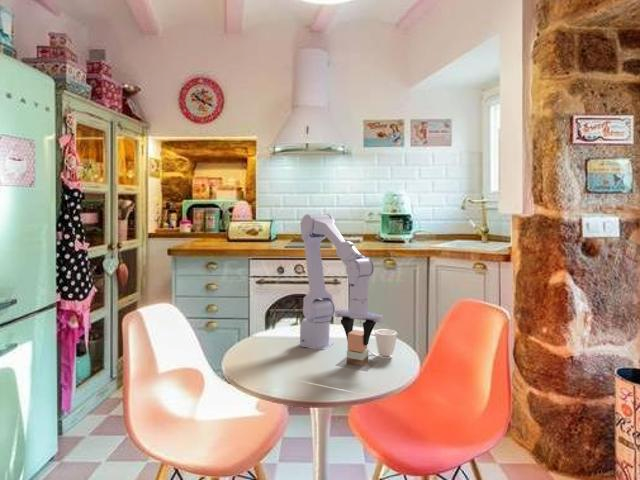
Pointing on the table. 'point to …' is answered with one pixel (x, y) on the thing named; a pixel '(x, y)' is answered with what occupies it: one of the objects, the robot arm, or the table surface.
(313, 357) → the table surface
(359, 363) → the tower base
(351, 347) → the block
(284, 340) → the table surface
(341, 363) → the coaster
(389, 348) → the cup
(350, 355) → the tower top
